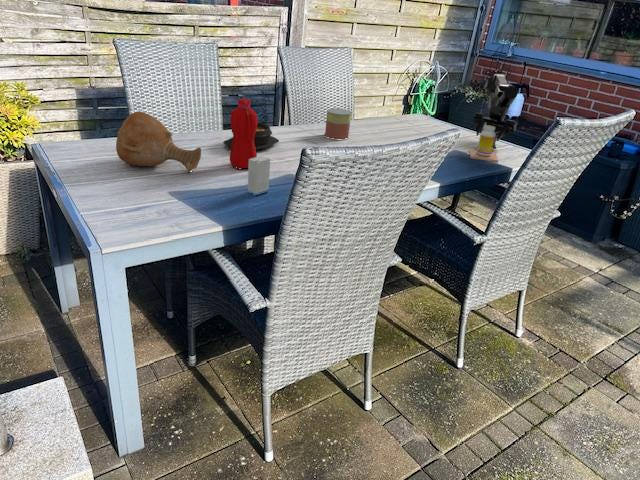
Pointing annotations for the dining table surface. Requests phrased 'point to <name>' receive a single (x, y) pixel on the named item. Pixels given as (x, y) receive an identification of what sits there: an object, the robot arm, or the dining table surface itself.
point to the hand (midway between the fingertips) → (486, 137)
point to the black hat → (259, 137)
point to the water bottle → (243, 134)
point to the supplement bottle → (486, 141)
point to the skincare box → (258, 174)
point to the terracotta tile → (488, 158)
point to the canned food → (337, 123)
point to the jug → (151, 143)
